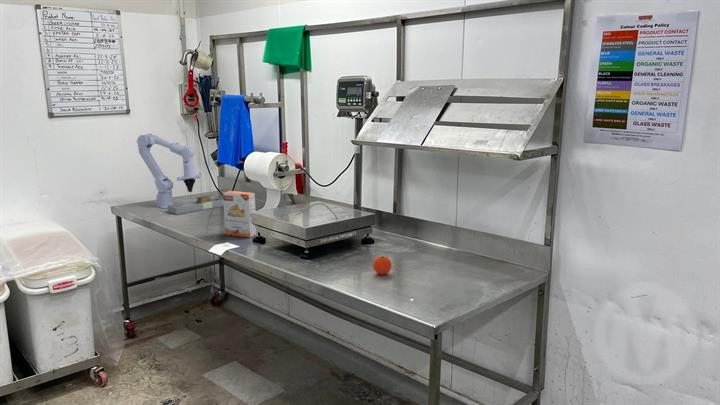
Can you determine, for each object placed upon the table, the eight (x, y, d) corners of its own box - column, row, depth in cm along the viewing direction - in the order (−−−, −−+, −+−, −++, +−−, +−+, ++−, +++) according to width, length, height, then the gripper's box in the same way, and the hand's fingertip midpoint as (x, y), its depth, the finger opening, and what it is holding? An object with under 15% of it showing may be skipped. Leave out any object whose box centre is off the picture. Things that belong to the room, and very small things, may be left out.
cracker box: (224, 235, 248) (222, 192, 244) (231, 232, 254) (229, 190, 250) (250, 238, 244) (248, 194, 239) (256, 235, 249) (255, 192, 245)
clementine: (372, 270, 201) (372, 252, 199) (390, 270, 201) (390, 252, 200) (373, 277, 193) (373, 259, 191) (392, 277, 193) (392, 258, 192)
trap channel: (166, 211, 296) (166, 205, 296) (215, 203, 320) (215, 197, 319) (177, 215, 289) (177, 208, 288) (226, 206, 312) (226, 199, 312)
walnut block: (197, 203, 307) (196, 197, 306) (206, 202, 311) (205, 195, 310) (202, 205, 303) (201, 198, 303) (211, 203, 308) (210, 196, 307)
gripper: (181, 170, 296) (182, 194, 299) (203, 168, 307) (204, 190, 310) (174, 169, 301) (176, 192, 304) (196, 166, 311) (198, 189, 314)
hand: (190, 191), depth 307 cm, fingers closed
